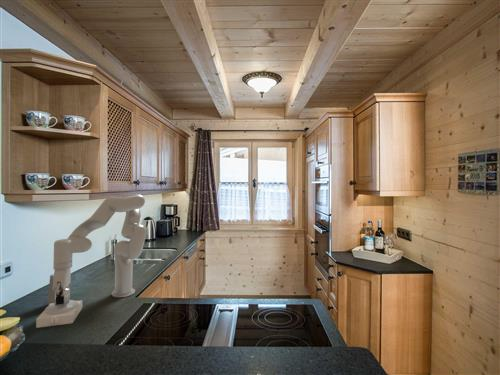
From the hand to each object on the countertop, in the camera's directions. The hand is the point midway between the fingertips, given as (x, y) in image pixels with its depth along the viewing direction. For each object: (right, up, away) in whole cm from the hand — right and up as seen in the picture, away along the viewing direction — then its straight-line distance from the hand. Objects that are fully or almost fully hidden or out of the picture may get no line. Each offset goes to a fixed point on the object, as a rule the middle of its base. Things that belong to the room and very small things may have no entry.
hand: (62, 300), depth 127 cm
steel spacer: (0, -1, 0) cm, 1 cm away
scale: (0, -7, -1) cm, 8 cm away
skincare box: (-11, -7, +13) cm, 19 cm away
